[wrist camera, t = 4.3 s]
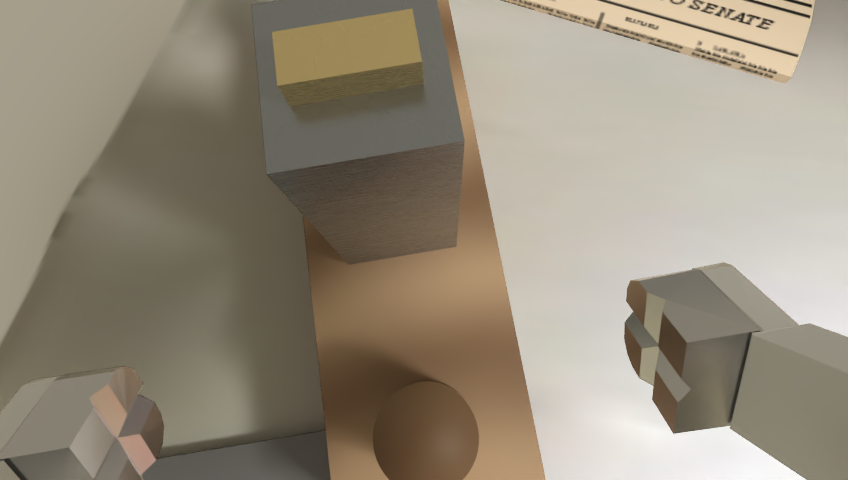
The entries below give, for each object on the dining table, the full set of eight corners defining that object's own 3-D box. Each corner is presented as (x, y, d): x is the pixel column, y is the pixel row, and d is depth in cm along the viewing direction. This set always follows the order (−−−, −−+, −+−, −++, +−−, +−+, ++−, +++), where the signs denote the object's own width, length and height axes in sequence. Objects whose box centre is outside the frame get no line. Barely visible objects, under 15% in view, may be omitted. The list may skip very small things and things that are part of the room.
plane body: (303, 49, 27) (236, -105, 18) (443, 25, 27) (441, -139, 18) (357, 504, 22) (296, 593, 13) (532, 475, 22) (590, 544, 13)
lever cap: (336, 164, 20) (236, -23, 11) (438, 147, 20) (430, -55, 11) (349, 264, 19) (251, 157, 10) (456, 246, 19) (465, 122, 10)
